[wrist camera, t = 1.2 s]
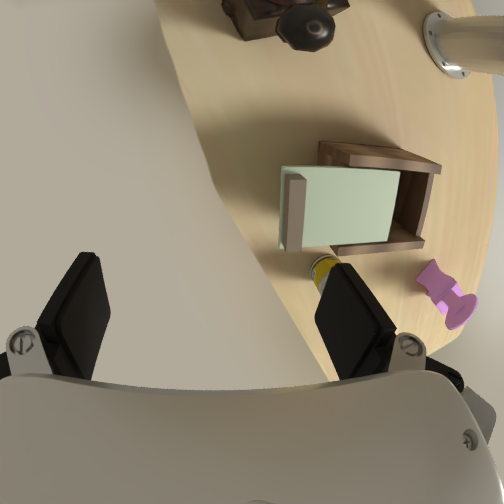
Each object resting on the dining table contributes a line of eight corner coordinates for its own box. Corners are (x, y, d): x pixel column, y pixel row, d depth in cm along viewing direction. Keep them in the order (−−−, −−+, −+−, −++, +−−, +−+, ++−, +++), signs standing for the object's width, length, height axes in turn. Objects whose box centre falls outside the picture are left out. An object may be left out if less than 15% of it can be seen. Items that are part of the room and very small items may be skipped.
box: (402, 149, 34) (441, 165, 26) (390, 220, 40) (422, 248, 32) (319, 141, 32) (350, 154, 25) (313, 223, 39) (337, 256, 31)
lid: (396, 170, 27) (410, 177, 25) (384, 238, 32) (395, 249, 29) (281, 165, 25) (288, 172, 23) (278, 245, 30) (283, 258, 28)
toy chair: (424, 298, 52) (459, 343, 39) (410, 283, 49) (450, 332, 36) (447, 273, 49) (486, 314, 37) (437, 254, 46) (482, 299, 33)
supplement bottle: (346, 264, 43) (372, 302, 35) (323, 286, 45) (344, 326, 37) (327, 247, 41) (353, 285, 33) (302, 271, 43) (322, 313, 34)
